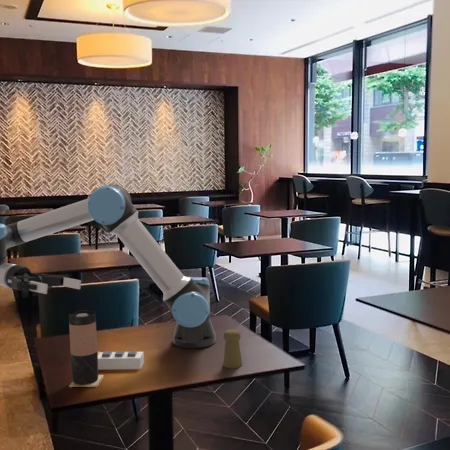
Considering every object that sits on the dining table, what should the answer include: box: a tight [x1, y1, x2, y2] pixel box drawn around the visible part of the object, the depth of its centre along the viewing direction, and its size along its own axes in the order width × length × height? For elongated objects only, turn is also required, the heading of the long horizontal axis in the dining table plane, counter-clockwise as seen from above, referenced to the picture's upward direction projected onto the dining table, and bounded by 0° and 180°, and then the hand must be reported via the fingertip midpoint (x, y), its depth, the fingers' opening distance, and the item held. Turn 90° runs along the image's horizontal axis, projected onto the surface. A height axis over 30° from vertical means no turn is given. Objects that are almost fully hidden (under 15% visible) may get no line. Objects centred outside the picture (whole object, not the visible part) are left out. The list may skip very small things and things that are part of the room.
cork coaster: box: [68, 374, 105, 388], centre depth 166 cm, size 8×8×1 cm
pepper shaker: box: [222, 329, 243, 369], centre depth 177 cm, size 6×6×11 cm
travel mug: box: [68, 309, 99, 385], centre depth 165 cm, size 8×8×20 cm
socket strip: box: [98, 350, 145, 371], centre depth 179 cm, size 18×6×4 cm, turn 88°
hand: (63, 286), depth 169 cm, fingers open, 13 cm apart
